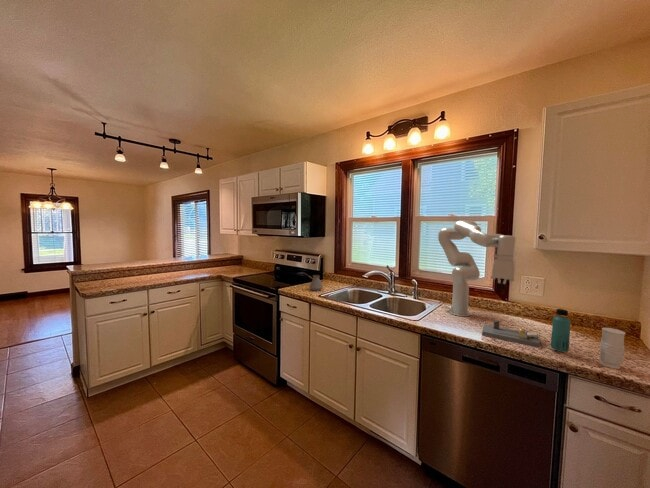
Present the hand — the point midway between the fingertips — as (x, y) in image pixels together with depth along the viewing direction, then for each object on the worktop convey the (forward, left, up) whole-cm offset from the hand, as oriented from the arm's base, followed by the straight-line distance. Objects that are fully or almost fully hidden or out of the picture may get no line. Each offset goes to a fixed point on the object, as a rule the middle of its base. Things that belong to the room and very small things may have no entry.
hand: (501, 290), depth 147 cm
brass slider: (+10, -11, -21) cm, 25 cm away
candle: (+40, -18, -23) cm, 49 cm away
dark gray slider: (-1, -4, -21) cm, 21 cm away
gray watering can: (-140, +10, -23) cm, 142 cm away
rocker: (+14, -8, -19) cm, 25 cm away
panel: (+5, -8, -23) cm, 25 cm away
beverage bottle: (+24, -15, -23) cm, 36 cm away
